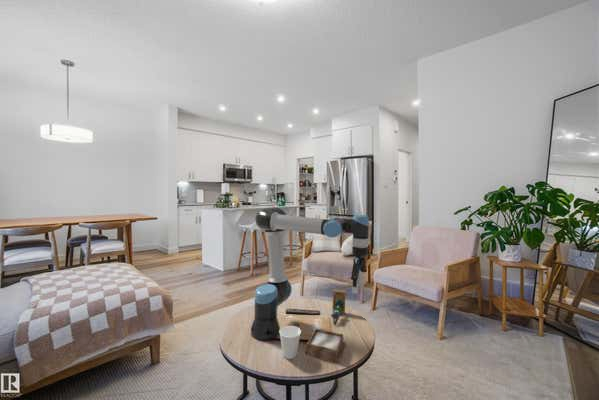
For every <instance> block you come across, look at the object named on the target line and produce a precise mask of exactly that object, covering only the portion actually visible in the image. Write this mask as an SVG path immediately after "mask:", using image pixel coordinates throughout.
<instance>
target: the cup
mask: <svg viewBox="0 0 599 400" xmlns="http://www.w3.org/2000/svg"><path fill="white" fill-rule="evenodd" d="M279 333H280V334H279V336H280V344H281V352H282V356H283V357H284V358H285V359H287V360H291V359H295V358H296V357H297V354H298V349H299V344H300V337H301V334H302V330H301V329H300V327H298V326H295V325H286V326H283V327H280V330H279Z"/></svg>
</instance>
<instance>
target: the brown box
mask: <svg viewBox="0 0 599 400" xmlns="http://www.w3.org/2000/svg"><path fill="white" fill-rule="evenodd" d="M345 347H346V342H345V341H344V334H343V333H337V332H333V331H328V330H323V329H319V328H315V329H314V330H313V333H312V334H311V336H310V337H309V338H308V341H307V343H306V348H305V349H304V354H303V355H306V356H309V357H314V358H317V359H322V360H326V361H330V362H334V363H338V364H340V363H341V359H342V356H343V353H344V350H345Z"/></svg>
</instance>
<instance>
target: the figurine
mask: <svg viewBox="0 0 599 400" xmlns="http://www.w3.org/2000/svg"><path fill="white" fill-rule="evenodd" d="M332 292H333V293H332V313H331V317H332V319H333V320H332V322H333V325H336V323H337V322H338V318H339V315H346V299H347V298H346V296H347V295H346V293H347V290H344V289H343V290H341V289H333V291H332Z"/></svg>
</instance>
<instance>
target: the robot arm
mask: <svg viewBox="0 0 599 400" xmlns="http://www.w3.org/2000/svg"><path fill="white" fill-rule="evenodd" d="M254 220H255V224H256V226H257V227H258V228H259V229H261V230H263V231H264V233H265V234H266V235H267V245H268V265H269V277H268V279H267V284H262V285H260V286H258V287H257V288H256V289H255V292H254V319H253V322H252V324H251V327H250V335H251V337H252V338H254V339H255V340H258V341H270V340H273V339H276V338H277V337H278V336H280V334H279V330H280V329H281V325H280V323H279V320H278V307H279V306H280V305H281V304H283V303H285V302H286V301H287V300H288V299H289V297H290V296H291V294H292V291H293V290H292V289H293V288H292V284H291V283H290V282H289V278H288V276H286V272H285V271H286V270H285V269H286V268H285V267H286V266H285V255H284V254H285V253H284V252H285V251H284V238H283V237H284V235H283V234H284V232H285V231H289V232H297V233H298V232H299V233H305V234H307V233H308V234H315V235H322V236H327V237H328V238H337V237H338V236H341V235H342V234H351V235H352V249H351V252H352V253H351V254H353V256H354V255H355V258H353V264H352V269H351V274H350V275H351V276H350V280H352V281H351V282H352V283H351V294H356V295H358V294H359V285H361V286H365V285H366V273H367V272H368V271H367V261H366V256H368V255H369V243H370V240H369V232H370V231H369V230H370V222H369V221H370V217H369V216H368V215H365V214H364V215H363V214H355V215H353V217H352V218H346V217H345V218H343V217H331V218H330V219H326V218H315V217H308V216H300V215H299V216H298V215H290V214H289V215H288V214H287V212H286V211H285V210H284V209H283V208H280V207H267V208H266V207H265V208H262V209H260V210H259V211H258V212H257V213H256V215H255V219H254Z"/></svg>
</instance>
